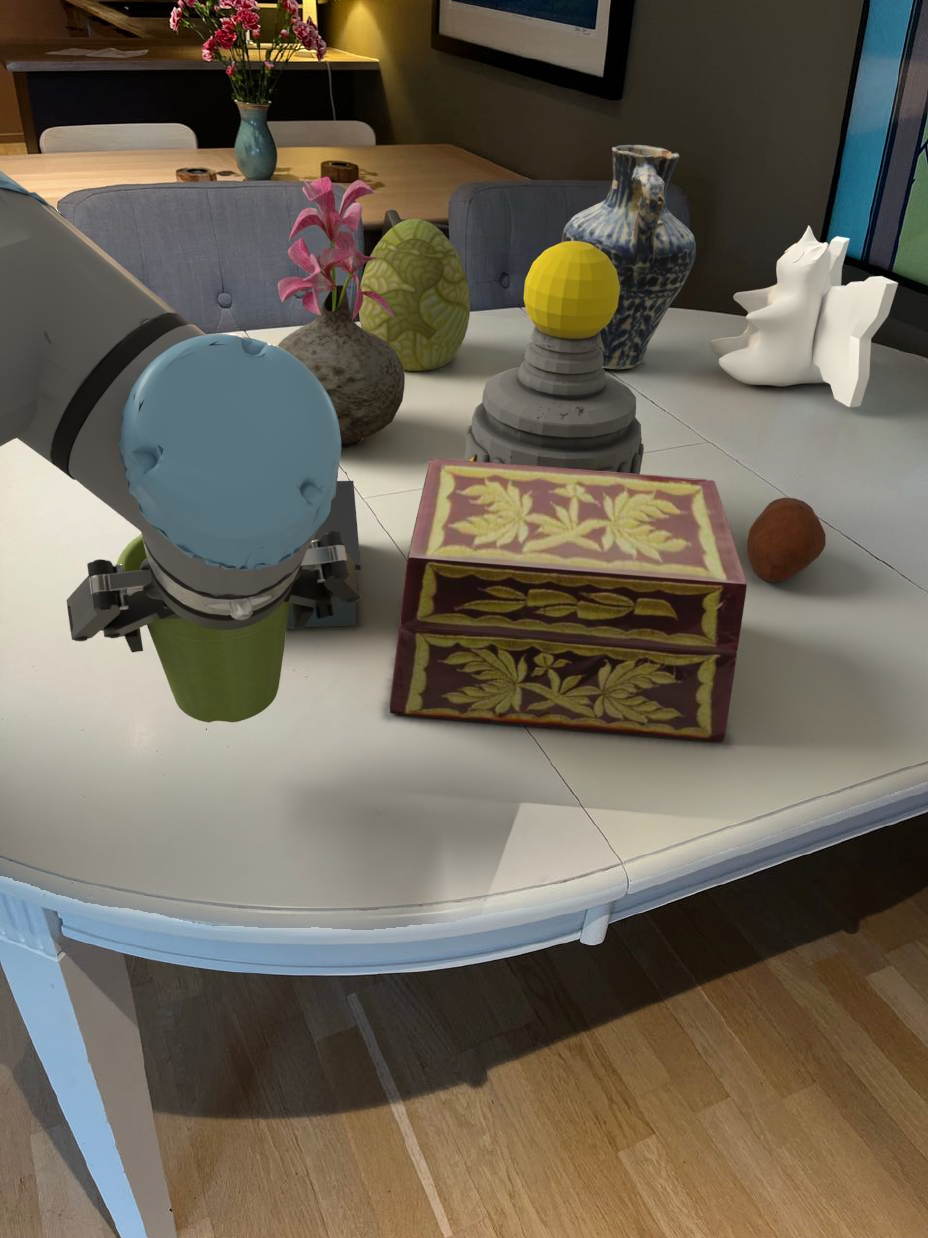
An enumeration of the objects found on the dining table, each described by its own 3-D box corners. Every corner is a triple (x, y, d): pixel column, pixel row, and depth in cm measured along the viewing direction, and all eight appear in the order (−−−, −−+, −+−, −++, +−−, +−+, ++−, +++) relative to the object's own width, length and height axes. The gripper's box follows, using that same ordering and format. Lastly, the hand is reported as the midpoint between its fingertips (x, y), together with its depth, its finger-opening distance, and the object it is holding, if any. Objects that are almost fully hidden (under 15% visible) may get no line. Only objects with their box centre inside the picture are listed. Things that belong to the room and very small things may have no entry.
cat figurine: (696, 347, 156) (723, 208, 143) (826, 355, 155) (865, 217, 143) (723, 408, 135) (758, 252, 123) (874, 417, 135) (923, 263, 123)
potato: (813, 547, 104) (833, 482, 100) (816, 604, 95) (839, 535, 91) (742, 535, 106) (759, 470, 101) (739, 590, 97) (757, 521, 92)
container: (183, 635, 86) (173, 570, 82) (199, 543, 99) (191, 483, 95) (361, 628, 88) (360, 564, 84) (354, 539, 101) (353, 480, 97)
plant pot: (105, 726, 64) (75, 586, 58) (196, 629, 74) (179, 500, 67) (265, 769, 62) (253, 629, 55) (338, 664, 71) (335, 533, 65)
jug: (536, 338, 155) (556, 133, 138) (649, 337, 158) (682, 137, 141) (570, 387, 138) (598, 162, 121) (696, 385, 142) (740, 165, 124)
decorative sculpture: (412, 387, 136) (414, 240, 124) (337, 355, 144) (333, 215, 133) (489, 361, 146) (498, 223, 134) (414, 332, 154) (417, 200, 143)
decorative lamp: (437, 495, 110) (448, 220, 92) (586, 477, 115) (622, 214, 98) (495, 583, 95) (520, 276, 78) (661, 557, 101) (719, 266, 84)
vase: (245, 450, 117) (221, 186, 99) (309, 399, 130) (298, 159, 113) (372, 476, 113) (370, 206, 95) (424, 421, 127) (431, 176, 109)
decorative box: (695, 613, 93) (728, 474, 84) (724, 744, 78) (768, 591, 69) (414, 591, 94) (417, 450, 85) (388, 716, 78) (389, 560, 70)
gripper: (-23, 654, 43) (49, 700, 64) (463, 586, 49) (383, 648, 70) (-43, 493, 44) (35, 591, 65) (436, 448, 50) (366, 550, 71)
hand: (217, 621), depth 67 cm, fingers closed on plant pot, 10 cm apart
